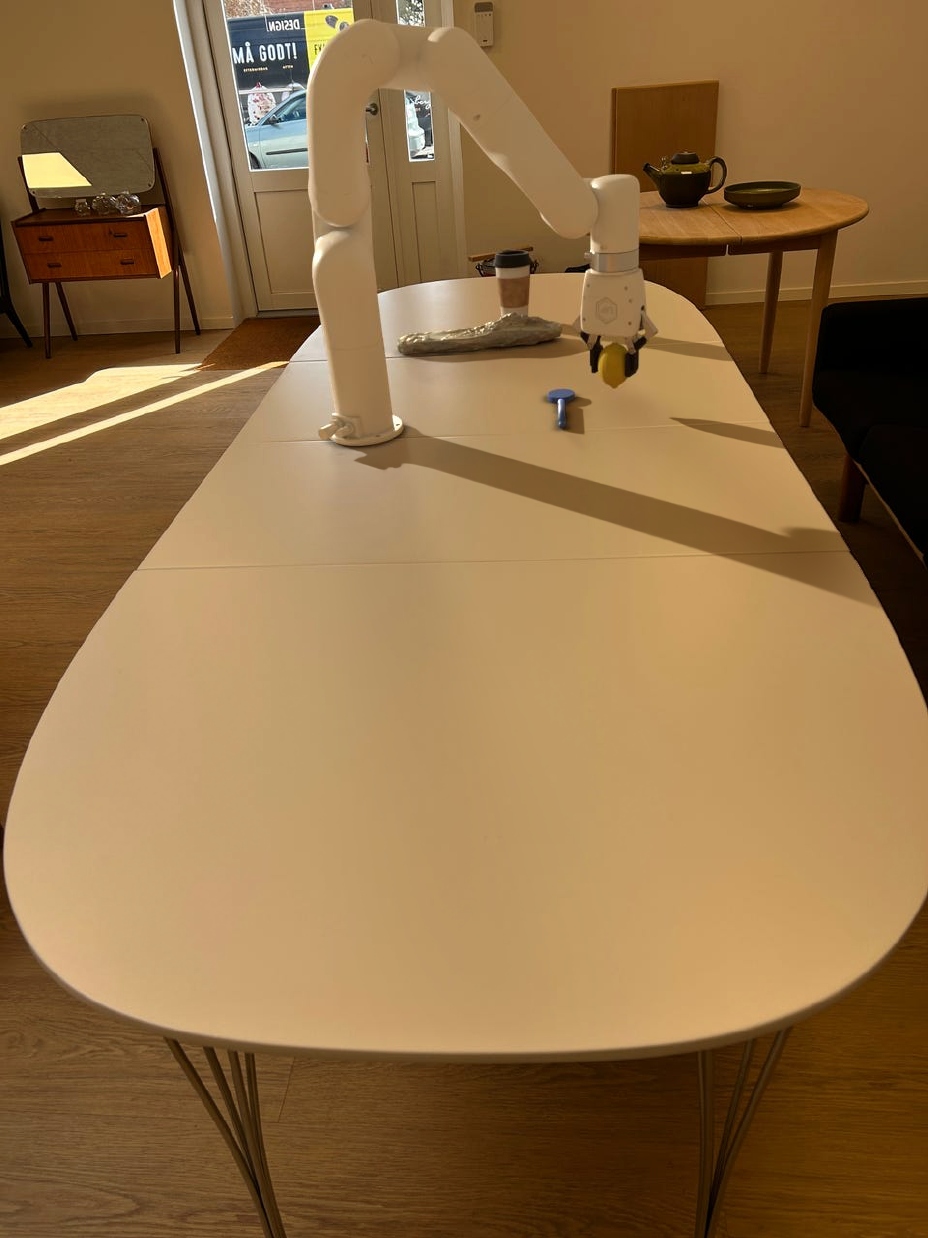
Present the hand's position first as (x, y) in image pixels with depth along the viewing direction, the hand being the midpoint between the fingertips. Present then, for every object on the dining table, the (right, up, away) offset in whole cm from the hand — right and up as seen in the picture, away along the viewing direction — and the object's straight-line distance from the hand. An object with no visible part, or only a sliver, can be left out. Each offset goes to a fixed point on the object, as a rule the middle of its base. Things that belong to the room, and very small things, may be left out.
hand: (613, 371), depth 158 cm
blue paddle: (-9, -6, +3) cm, 11 cm away
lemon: (0, -3, +2) cm, 3 cm away
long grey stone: (-22, +16, +40) cm, 49 cm away
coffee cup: (-14, +26, +55) cm, 62 cm away
